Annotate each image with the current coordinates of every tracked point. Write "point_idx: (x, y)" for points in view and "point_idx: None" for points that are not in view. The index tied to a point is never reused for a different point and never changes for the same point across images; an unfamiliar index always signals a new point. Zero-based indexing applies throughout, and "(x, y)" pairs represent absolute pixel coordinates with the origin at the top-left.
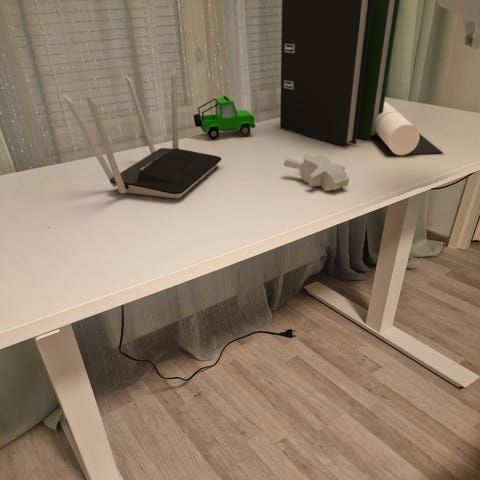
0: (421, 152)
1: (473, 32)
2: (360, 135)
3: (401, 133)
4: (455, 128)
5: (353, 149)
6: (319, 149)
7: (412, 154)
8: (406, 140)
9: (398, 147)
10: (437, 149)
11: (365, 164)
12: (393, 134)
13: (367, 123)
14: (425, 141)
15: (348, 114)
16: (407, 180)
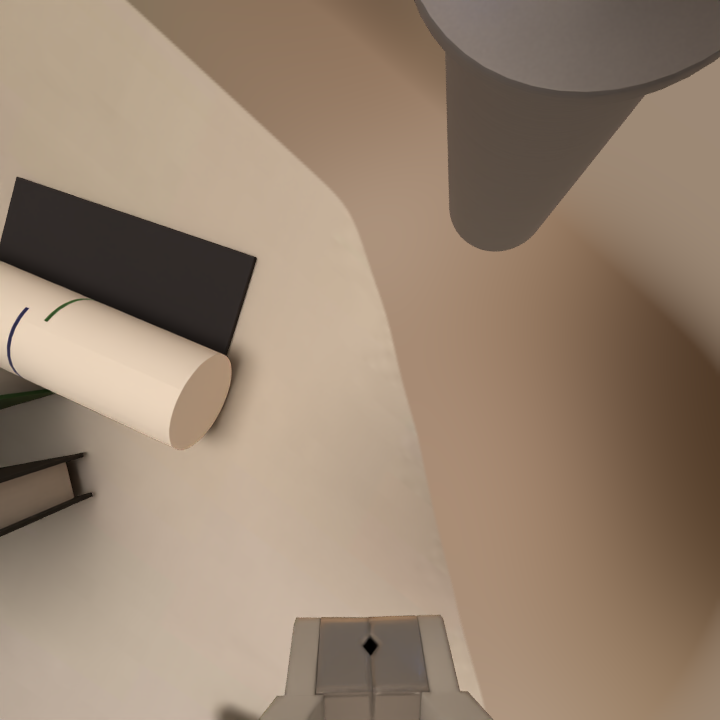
0: (230, 320)
1: (321, 714)
2: (28, 400)
3: (185, 418)
4: (57, 24)
5: (114, 478)
6: (76, 568)
7: (227, 351)
8: (205, 394)
9: (210, 412)
10: (227, 253)
11: (242, 533)
12: (178, 443)
13: (7, 400)
14: (145, 232)
15: (1, 535)
16: (405, 514)
